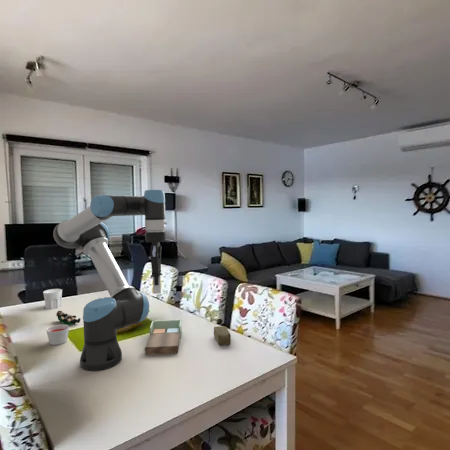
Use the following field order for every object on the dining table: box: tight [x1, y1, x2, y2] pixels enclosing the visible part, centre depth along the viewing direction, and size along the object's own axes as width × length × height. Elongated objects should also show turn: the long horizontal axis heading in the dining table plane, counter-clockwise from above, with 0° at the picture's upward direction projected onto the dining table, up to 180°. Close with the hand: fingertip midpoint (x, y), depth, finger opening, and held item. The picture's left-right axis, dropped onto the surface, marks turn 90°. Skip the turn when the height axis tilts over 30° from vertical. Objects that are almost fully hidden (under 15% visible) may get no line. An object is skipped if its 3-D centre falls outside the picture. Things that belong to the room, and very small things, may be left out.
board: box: [144, 333, 181, 355], centre depth 138 cm, size 13×14×3 cm
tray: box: [149, 319, 183, 340], centre depth 150 cm, size 14×9×6 cm, turn 95°
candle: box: [45, 323, 70, 346], centre depth 145 cm, size 9×9×6 cm
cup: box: [42, 288, 63, 310], centre depth 196 cm, size 10×10×10 cm
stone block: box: [213, 325, 232, 346], centre depth 144 cm, size 6×12×5 cm, turn 13°
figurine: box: [55, 310, 82, 327], centre depth 169 cm, size 8×6×15 cm
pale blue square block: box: [167, 328, 179, 333], centre depth 149 cm, size 5×5×2 cm
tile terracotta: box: [153, 329, 165, 334], centre depth 148 cm, size 5×5×2 cm
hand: (157, 293), depth 124 cm, fingers closed
